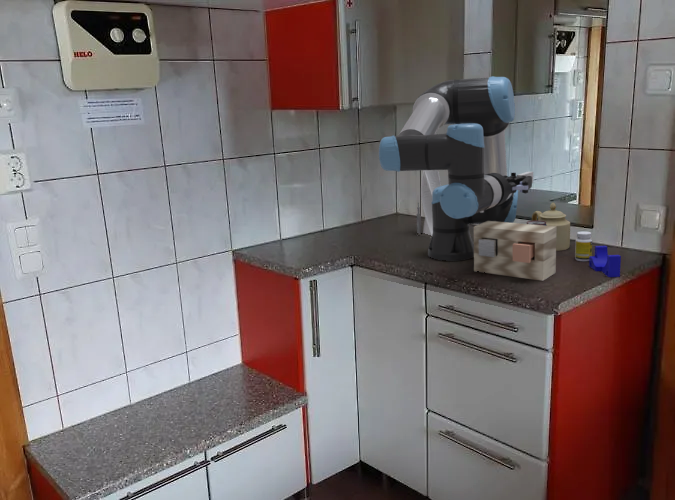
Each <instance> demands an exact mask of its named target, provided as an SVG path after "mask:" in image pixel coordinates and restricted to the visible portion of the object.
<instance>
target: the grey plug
mask: <svg viewBox="0 0 675 500" xmlns="http://www.w3.org/2000/svg"><path fill="white" fill-rule="evenodd" d="M497 252H498V239H492V238H487V239H479V255H480V256H488V257H496V253H497Z"/></svg>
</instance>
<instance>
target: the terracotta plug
mask: <svg viewBox="0 0 675 500" xmlns="http://www.w3.org/2000/svg"><path fill="white" fill-rule="evenodd" d="M534 256H535V243H531V242H523V243H521V244H516V243H514V244H513V261H517V262H525V263H530V262H531V258H533V257H534Z"/></svg>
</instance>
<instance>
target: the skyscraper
mask: <svg viewBox="0 0 675 500" xmlns="http://www.w3.org/2000/svg"><path fill="white" fill-rule="evenodd" d="M439 171H440V170H422V175H421V186H420V196H421V197H420V199H421V205H422V209H423V211H422V212H423V214H424V223H423V229H422V222H421V221H422V220H421V219H422V218H421V217H422V216H421V215H422V214H421V212H420V208H421V207H420V202H417V214H416V232H417V233H419V234H420V233H425V234H428V235H431V236H432V234H433V217H432V192H433V190H434V189H435V188H437V187H440V186H442V183H441V182H442V181H441V177H440V172H439ZM417 233H416V234H417Z"/></svg>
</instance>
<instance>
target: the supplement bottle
mask: <svg viewBox="0 0 675 500" xmlns="http://www.w3.org/2000/svg"><path fill="white" fill-rule="evenodd" d="M576 237H577V238H576V239H575V246H574V247H575V250H574V251H575V252H574V259H575V260H576V261H577V262H589V256H593V240H592V232H590V231H577V232H576Z"/></svg>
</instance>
